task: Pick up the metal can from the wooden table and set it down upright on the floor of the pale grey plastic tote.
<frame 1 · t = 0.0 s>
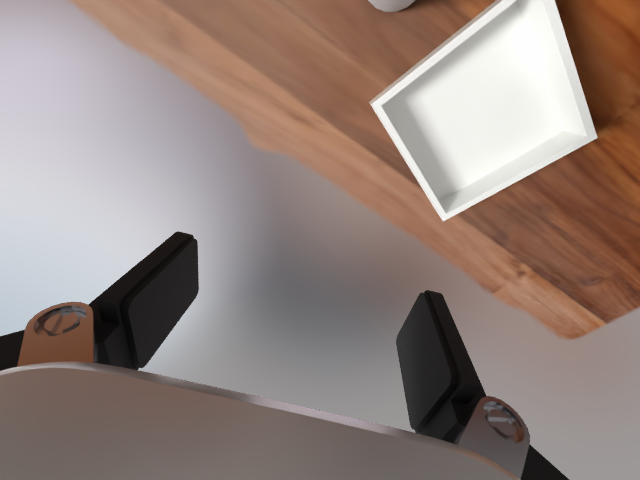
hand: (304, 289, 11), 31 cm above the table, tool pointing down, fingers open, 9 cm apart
tote: (466, 116, 35), on the table
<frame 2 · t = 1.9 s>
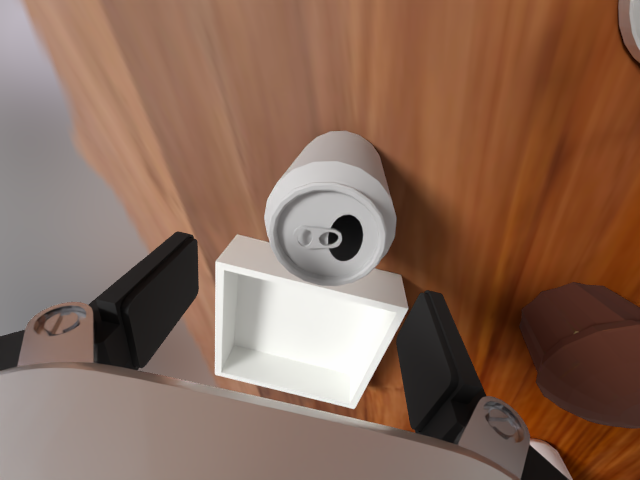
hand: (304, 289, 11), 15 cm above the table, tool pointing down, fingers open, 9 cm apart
can: (339, 173, 24), on the table
alcohol: (522, 448, 43), on the table
tote: (304, 312, 33), on the table
muffin: (563, 313, 29), on the table
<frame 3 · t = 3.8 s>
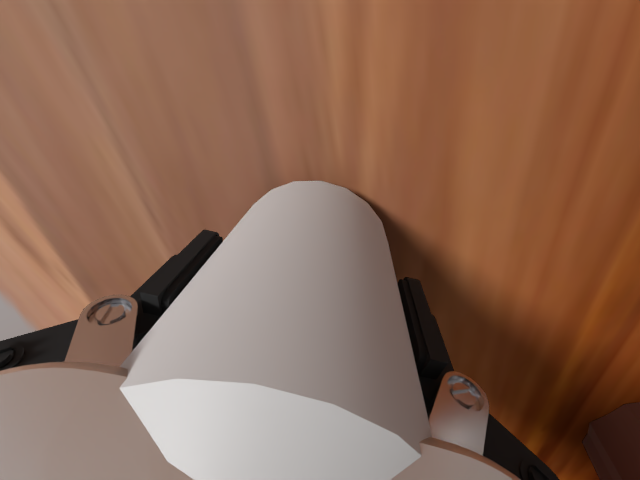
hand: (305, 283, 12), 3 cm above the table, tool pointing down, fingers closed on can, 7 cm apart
can: (315, 241, 15), on the table, touching gripper
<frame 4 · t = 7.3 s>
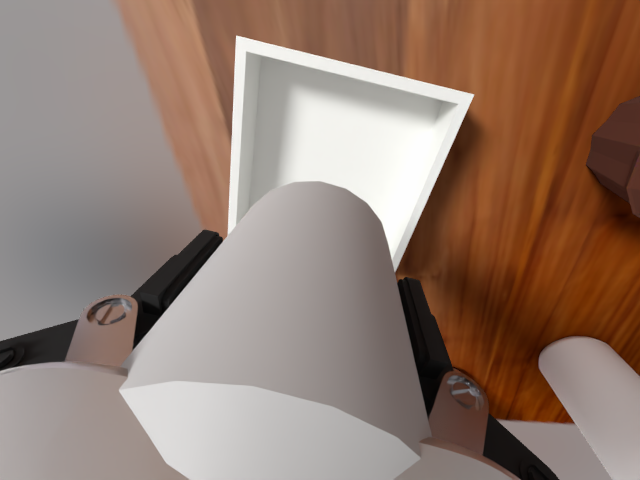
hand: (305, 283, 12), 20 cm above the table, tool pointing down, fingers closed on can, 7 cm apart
can: (315, 241, 15), point 16 cm above the table, touching gripper
alcohol: (568, 353, 39), on the table
tote: (332, 167, 29), on the table
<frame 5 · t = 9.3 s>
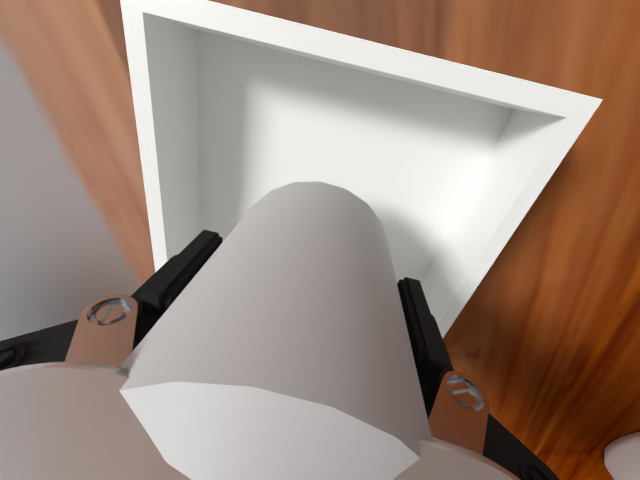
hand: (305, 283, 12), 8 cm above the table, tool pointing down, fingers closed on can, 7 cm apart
can: (315, 241, 15), point 4 cm above the table, touching gripper
tote: (323, 208, 19), on the table
when the fingers open (7 cm above the table, at t = 10.7 s): can drops 2 cm, resting on tote.
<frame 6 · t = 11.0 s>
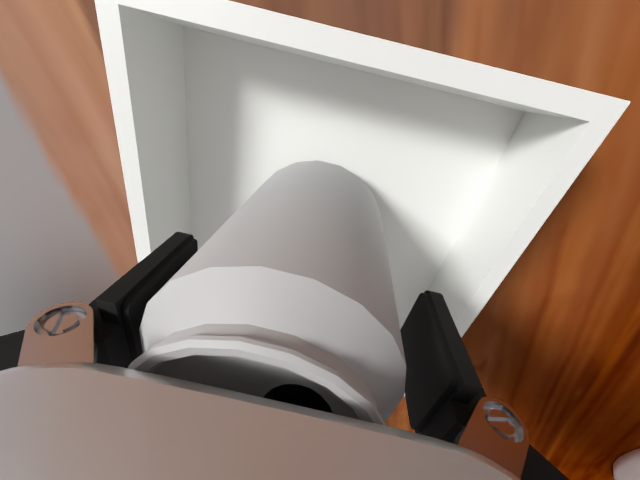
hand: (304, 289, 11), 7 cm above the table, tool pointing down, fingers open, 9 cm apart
can: (317, 217, 17), point 1 cm above the table, touching tote
tote: (321, 216, 18), on the table
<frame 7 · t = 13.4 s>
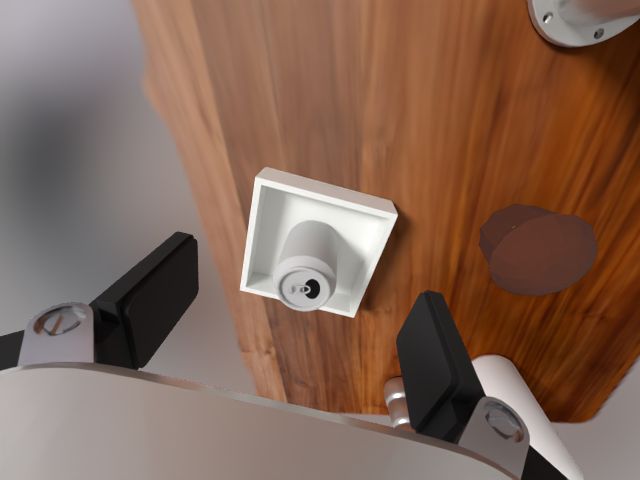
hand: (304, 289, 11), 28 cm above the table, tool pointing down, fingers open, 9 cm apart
can: (312, 239, 41), point 1 cm above the table, touching tote
plastic bottle: (398, 381, 57), on the table
alcohol: (486, 366, 53), on the table
tote: (314, 239, 42), on the table
muffin: (509, 232, 39), on the table
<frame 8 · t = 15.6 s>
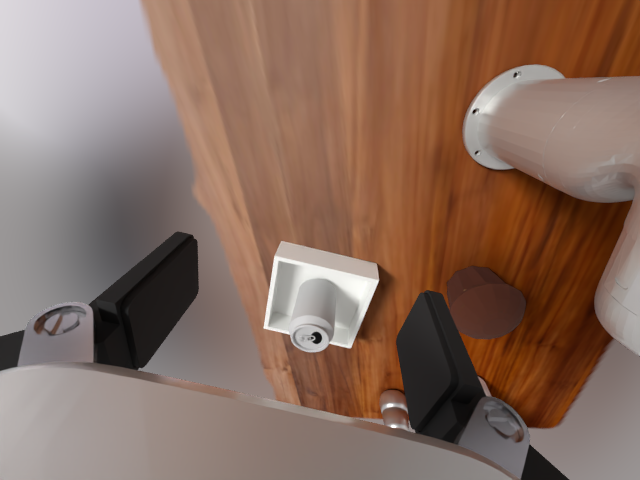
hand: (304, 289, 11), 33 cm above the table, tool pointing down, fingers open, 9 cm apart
can: (318, 290, 53), point 1 cm above the table, touching tote
plastic bottle: (392, 392, 69), on the table
tote: (319, 288, 54), on the table
muffin: (470, 284, 50), on the table
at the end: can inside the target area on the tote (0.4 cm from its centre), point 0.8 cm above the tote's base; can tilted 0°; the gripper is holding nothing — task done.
